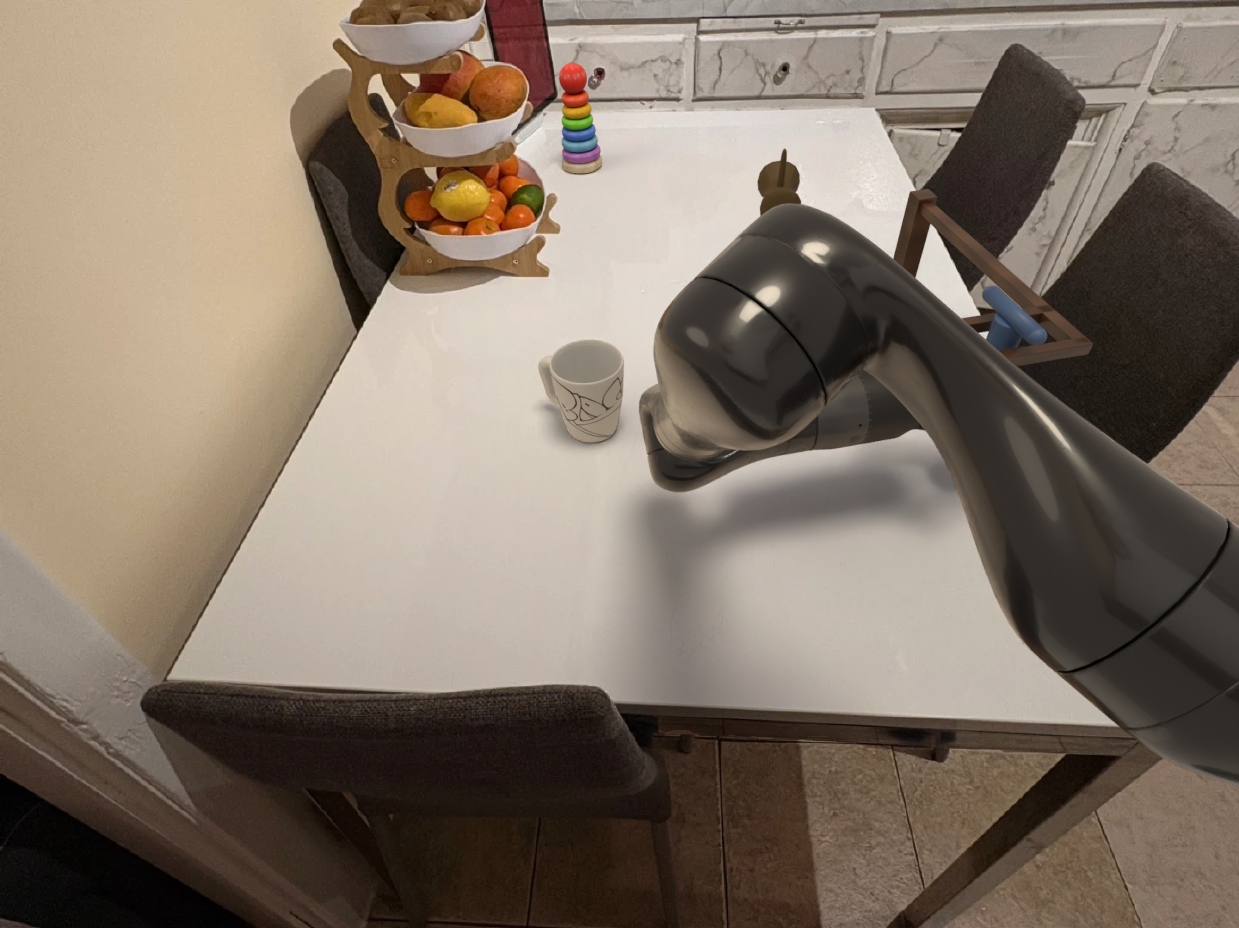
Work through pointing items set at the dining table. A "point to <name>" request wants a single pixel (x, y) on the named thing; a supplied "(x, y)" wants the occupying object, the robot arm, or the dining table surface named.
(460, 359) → the dining table surface
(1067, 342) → the stand
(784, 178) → the kendama
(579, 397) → the mug
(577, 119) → the stacking toy
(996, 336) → the peg
